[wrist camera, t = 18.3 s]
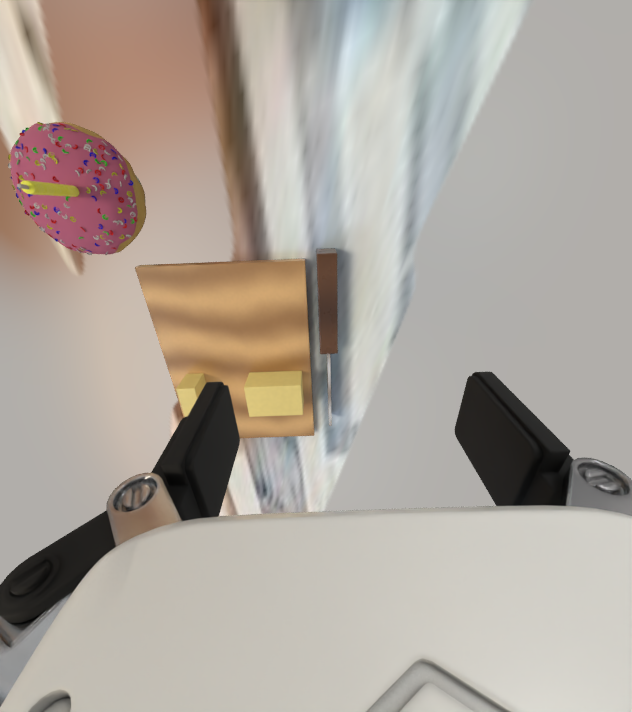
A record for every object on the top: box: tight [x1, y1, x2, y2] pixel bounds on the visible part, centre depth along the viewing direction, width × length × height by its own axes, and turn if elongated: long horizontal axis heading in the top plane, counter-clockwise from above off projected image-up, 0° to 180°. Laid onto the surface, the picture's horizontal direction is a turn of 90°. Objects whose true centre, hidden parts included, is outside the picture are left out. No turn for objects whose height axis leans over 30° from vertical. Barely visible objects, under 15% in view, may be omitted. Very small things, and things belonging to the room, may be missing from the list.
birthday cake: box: [8, 122, 146, 255], centre depth 20 cm, size 9×8×12 cm
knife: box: [316, 248, 338, 426], centre depth 32 cm, size 20×2×3 cm, turn 2°
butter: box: [244, 371, 304, 417], centre depth 33 cm, size 4×6×3 cm, turn 92°
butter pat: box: [176, 373, 206, 417], centre depth 33 cm, size 4×2×3 cm, turn 2°
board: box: [135, 259, 314, 438], centre depth 33 cm, size 22×16×1 cm
